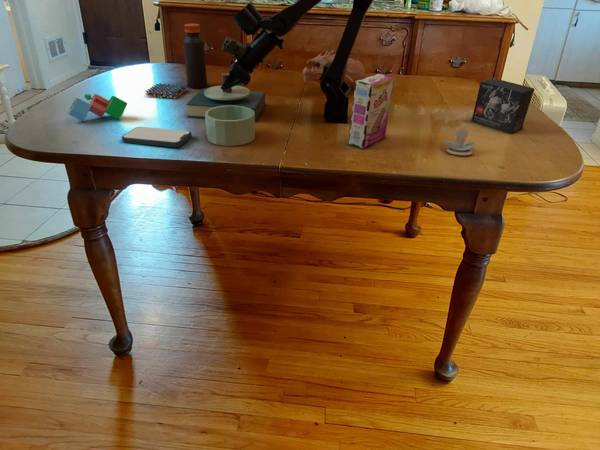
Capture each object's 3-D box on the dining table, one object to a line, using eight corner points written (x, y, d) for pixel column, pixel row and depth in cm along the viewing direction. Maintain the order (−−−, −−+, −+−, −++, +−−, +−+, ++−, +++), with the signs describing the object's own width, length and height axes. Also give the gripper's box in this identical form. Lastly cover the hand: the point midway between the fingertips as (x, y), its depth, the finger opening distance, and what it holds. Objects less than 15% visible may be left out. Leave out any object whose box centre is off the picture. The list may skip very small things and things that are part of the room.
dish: (243, 125, 128) (242, 102, 124) (263, 141, 119) (262, 116, 115) (200, 132, 122) (198, 108, 119) (217, 149, 113) (215, 124, 110)
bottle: (188, 89, 156) (182, 26, 146) (186, 84, 162) (180, 23, 151) (208, 88, 158) (203, 26, 147) (206, 83, 163) (201, 22, 153)
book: (265, 105, 144) (265, 92, 142) (255, 121, 131) (255, 108, 129) (203, 101, 146) (202, 88, 144) (187, 117, 132) (186, 103, 130)
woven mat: (176, 99, 146) (175, 93, 145) (144, 97, 147) (143, 90, 146) (188, 90, 155) (187, 84, 154) (158, 88, 156) (157, 82, 155)
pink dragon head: (370, 48, 159) (336, 44, 139) (369, 93, 163) (336, 95, 143) (336, 50, 166) (299, 47, 146) (336, 93, 170) (301, 95, 150)
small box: (470, 121, 137) (479, 80, 130) (482, 116, 140) (492, 77, 134) (511, 134, 128) (523, 91, 122) (523, 129, 132) (535, 87, 126)
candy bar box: (364, 150, 116) (371, 84, 107) (347, 144, 118) (353, 80, 109) (386, 138, 123) (395, 76, 114) (370, 133, 126) (378, 72, 117)
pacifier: (475, 158, 113) (470, 148, 118) (481, 134, 110) (476, 125, 115) (445, 156, 114) (442, 146, 119) (450, 132, 111) (447, 123, 116)
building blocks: (109, 135, 131) (66, 114, 125) (119, 112, 134) (78, 90, 128) (117, 126, 125) (73, 103, 119) (128, 102, 128) (85, 78, 122)
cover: (251, 89, 142) (250, 68, 139) (249, 102, 130) (248, 80, 127) (206, 88, 141) (205, 68, 138) (201, 102, 130) (199, 80, 126)
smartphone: (120, 143, 115) (178, 149, 112) (119, 137, 114) (178, 143, 111) (138, 131, 123) (193, 136, 120) (137, 125, 122) (193, 130, 119)
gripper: (239, 21, 134) (204, 60, 139) (235, 32, 118) (196, 75, 123) (266, 50, 138) (232, 86, 144) (266, 64, 123) (227, 104, 128)
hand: (222, 87), depth 134 cm, fingers closed on cover, 3 cm apart
